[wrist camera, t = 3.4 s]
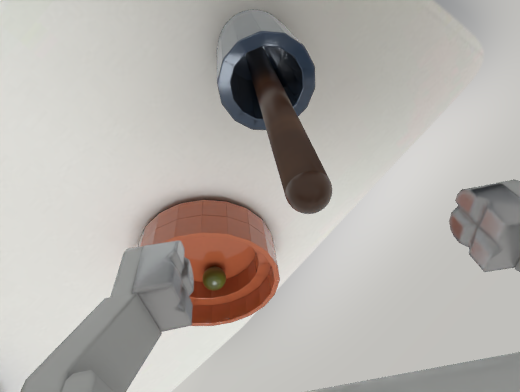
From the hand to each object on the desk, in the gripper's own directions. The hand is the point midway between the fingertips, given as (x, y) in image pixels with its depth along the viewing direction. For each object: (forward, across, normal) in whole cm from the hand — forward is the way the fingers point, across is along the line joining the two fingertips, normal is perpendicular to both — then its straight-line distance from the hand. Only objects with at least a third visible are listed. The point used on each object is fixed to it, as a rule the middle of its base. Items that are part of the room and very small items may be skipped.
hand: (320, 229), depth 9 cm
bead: (+20, +9, +26) cm, 33 cm away
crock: (+22, 0, 0) cm, 22 cm away
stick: (+21, 0, 0) cm, 21 cm away
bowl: (+22, +9, +22) cm, 32 cm away
